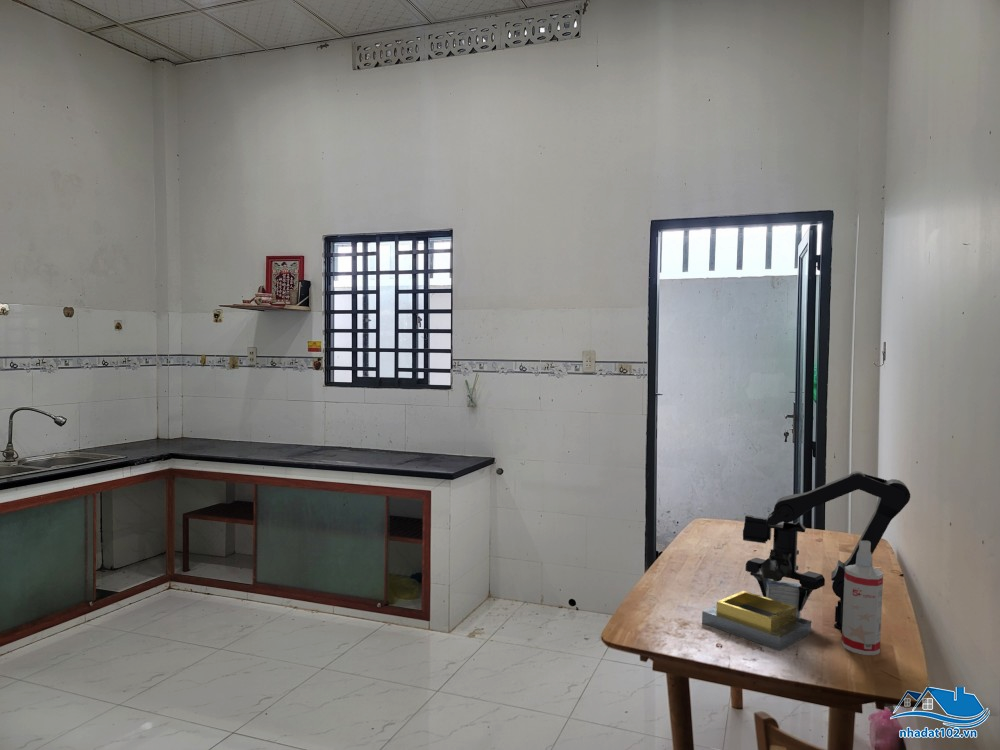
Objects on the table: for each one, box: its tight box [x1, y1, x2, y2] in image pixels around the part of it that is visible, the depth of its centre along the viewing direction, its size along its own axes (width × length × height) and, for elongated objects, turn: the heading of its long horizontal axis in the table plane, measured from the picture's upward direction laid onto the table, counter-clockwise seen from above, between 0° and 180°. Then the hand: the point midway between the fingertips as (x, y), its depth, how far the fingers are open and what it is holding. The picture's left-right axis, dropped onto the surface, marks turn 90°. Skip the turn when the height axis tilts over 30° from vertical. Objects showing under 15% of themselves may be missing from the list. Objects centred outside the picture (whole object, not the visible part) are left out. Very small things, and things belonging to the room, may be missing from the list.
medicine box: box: [766, 579, 801, 618], centre depth 173 cm, size 8×4×9 cm, turn 74°
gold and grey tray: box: [701, 590, 812, 652], centre depth 164 cm, size 20×16×6 cm
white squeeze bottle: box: [841, 539, 884, 656], centre depth 154 cm, size 8×8×25 cm
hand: (782, 605), depth 173 cm, fingers closed on medicine box, 9 cm apart
